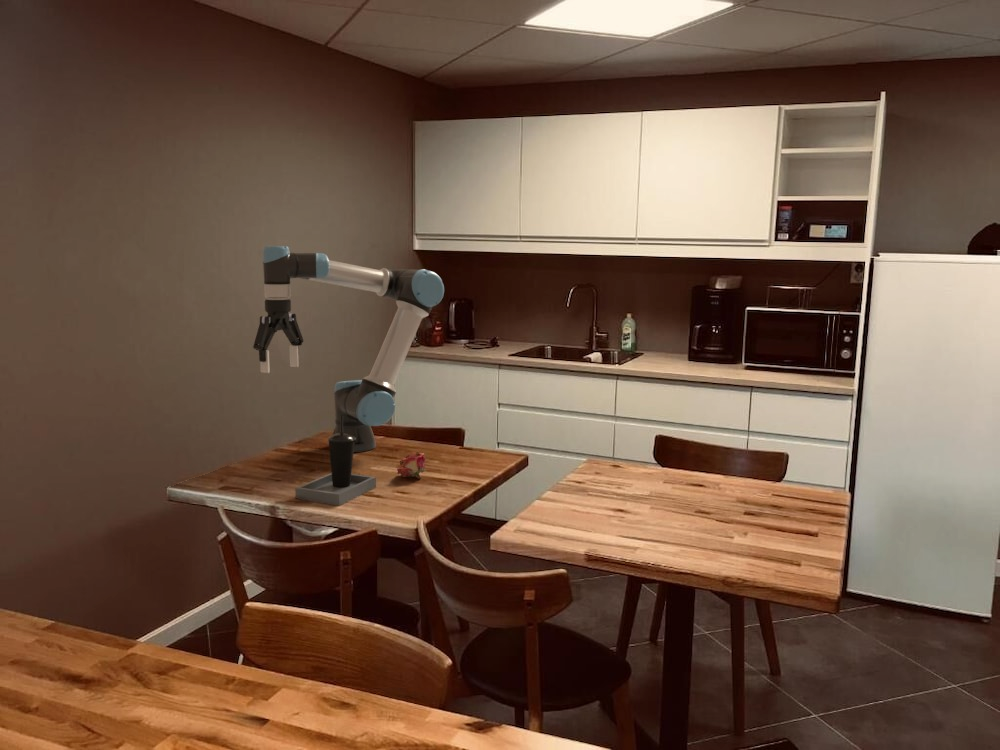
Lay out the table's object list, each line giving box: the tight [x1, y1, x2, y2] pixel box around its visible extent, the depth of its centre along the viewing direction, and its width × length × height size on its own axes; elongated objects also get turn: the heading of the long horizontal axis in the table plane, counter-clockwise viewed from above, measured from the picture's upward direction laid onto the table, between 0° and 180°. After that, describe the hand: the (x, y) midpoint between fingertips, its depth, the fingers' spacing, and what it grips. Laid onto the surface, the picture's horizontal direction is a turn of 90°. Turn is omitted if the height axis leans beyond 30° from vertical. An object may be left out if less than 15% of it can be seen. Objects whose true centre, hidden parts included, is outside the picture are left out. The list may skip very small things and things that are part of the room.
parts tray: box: [294, 472, 377, 506], centre depth 219 cm, size 18×14×3 cm
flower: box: [396, 451, 427, 480], centre depth 234 cm, size 10×9×8 cm
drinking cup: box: [327, 415, 356, 488], centre depth 222 cm, size 8×8×20 cm
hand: (280, 369), depth 239 cm, fingers open, 13 cm apart
